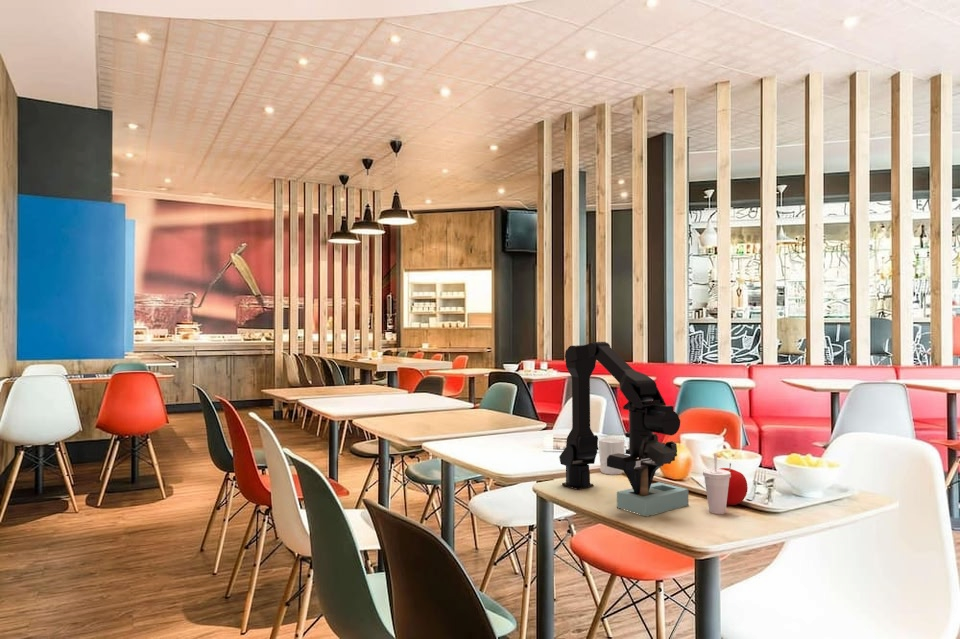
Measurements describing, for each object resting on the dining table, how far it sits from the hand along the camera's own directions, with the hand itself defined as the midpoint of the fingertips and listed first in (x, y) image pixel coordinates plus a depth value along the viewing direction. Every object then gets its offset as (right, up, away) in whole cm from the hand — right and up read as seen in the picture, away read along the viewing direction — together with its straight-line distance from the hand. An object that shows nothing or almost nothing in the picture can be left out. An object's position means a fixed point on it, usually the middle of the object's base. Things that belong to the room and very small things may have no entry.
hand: (641, 493), depth 153 cm
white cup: (+1, -5, +39) cm, 40 cm away
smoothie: (+18, -4, -3) cm, 18 cm away
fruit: (+23, -4, +5) cm, 24 cm away
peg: (0, -3, 0) cm, 3 cm away
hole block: (+3, -4, +2) cm, 6 cm away
